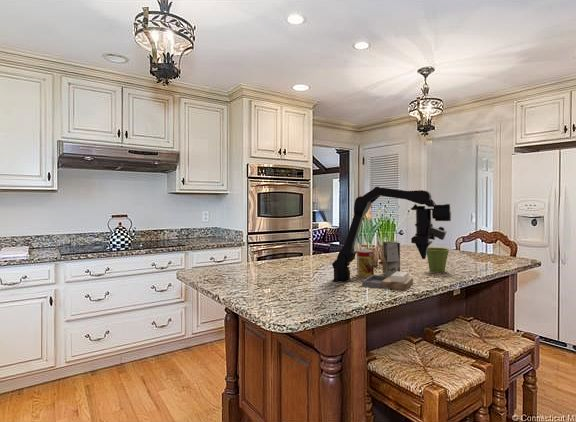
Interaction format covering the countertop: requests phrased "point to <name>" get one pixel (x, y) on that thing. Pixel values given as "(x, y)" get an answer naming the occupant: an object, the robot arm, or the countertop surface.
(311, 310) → the countertop surface
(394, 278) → the cream tile
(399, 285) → the plate
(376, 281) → the box
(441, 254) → the plant pot
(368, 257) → the canned food
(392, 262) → the coffee box
